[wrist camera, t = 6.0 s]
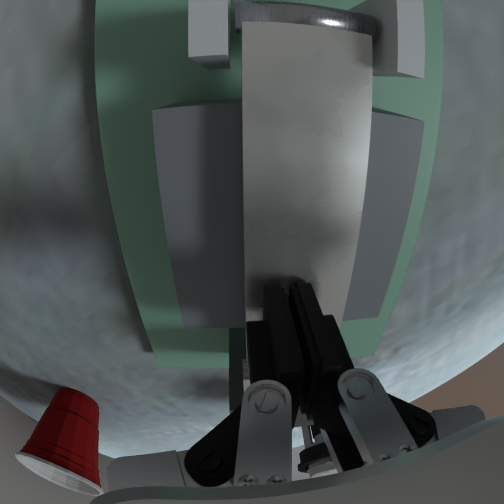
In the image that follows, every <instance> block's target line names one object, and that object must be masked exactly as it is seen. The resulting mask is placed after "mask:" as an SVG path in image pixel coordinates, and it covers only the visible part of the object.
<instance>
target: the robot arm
mask: <svg viewBox="0 0 504 504" xmlns="http://www.w3.org/2000/svg"><path fill="white" fill-rule="evenodd" d="M246 336H247V353H248V364H249V375H250V386H249V387H248V388H247V389H246V390H245V392H244V395H243V399H242V404H241V405H240V406H239V407H238V408H236V409H235V410H234V411H233V412H232V413H231V414H230V415H229V416H228V417H226V418H225V419H224V420H223V421H222V422H221V423H220V424H218V425H217V426H216V427H215V428H214V429H213V430H211V431H210V432H209V433H208V434H207V435H206V436H204V437H203V438H202V439H201V440H200V441H198V442H197V443H196V444H195V445H193V446H192V447H191V448H190V449H189V450H185V451H179V452H176V450H173V451H167V452H160V453H153V454H145V455H136V456H125V457H119V458H116V459H114V460H113V461H112V462H111V463H110V464H109V466H108V468H107V478H108V486H109V492H107V493H105V494H102V495H100V496H98V497H96V498H94V499H93V500H92V501H91V502H90V504H504V416H496V417H492V418H488V419H485V415H484V413H483V411H482V410H481V409H480V408H479V407H477V406H475V405H469V406H462V407H456V408H449V409H440V410H433V412H432V413H428V412H427V411H425V410H423V409H421V408H418V407H416V406H414V405H412V404H409V403H407V402H405V401H403V400H401V399H399V398H396V397H394V396H392V395H390V394H388V393H386V391H385V389H384V388H383V386H382V384H381V383H380V381H379V380H378V378H377V377H376V376H375V375H374V374H373V373H372V372H370V371H368V370H365V369H360V368H354V366H353V363H352V360H351V358H350V355H349V353H348V350H347V348H346V345H345V343H344V340H343V338H342V335H341V333H340V330H339V328H338V325H337V323H336V320H335V318H334V316H333V315H332V314H329V315H323V313H322V310H321V308H320V305H319V302H318V300H317V297H316V295H315V292H314V289H313V287H312V284H311V283H310V282H308V283H296V284H295V287H291V288H290V295H289V303H288V299H287V295H286V291H285V288H280V287H279V285H264V293H263V320H258V321H246ZM299 407H300V411H301V414H306V416H307V421H310V420H313V422H314V425H316V426H318V427H319V428H320V430H321V434H322V436H323V439H324V441H325V443H326V446H327V448H328V451H329V453H330V455H331V458H332V460H333V463H334V465H335V467H336V470H337V472H338V473H335V474H331V475H326V476H321V477H315V478H309V479H304V480H297V481H292V429H293V428H294V425H295V421H296V418H297V414H298V410H299Z"/></svg>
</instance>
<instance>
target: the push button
mask: <svg viewBox="0 0 504 504" xmlns="http://www.w3.org/2000/svg"><path fill="white" fill-rule="evenodd" d="M310 426H311V430H312V435H313V438H314V439H315V443H313V441H312V435H311V430H310ZM302 432H303V438H304V444H305V449H304V450H303V451H302V452H300V461H301V463H300V464H298V471H300V472H305V473H309V474H310V478H315V477H321V476H326V475H331V474H335V473H338V472H337V470H336V467H335V465H334V463H333V460H332V458H331V455H330V453H329V451H328V448H327V446H326V443H325V441H324V439H323V436H322V434H321V430H320V428H319V427H318V426H316V425H308V426H302Z"/></svg>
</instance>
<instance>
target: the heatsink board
mask: <svg viewBox="0 0 504 504" xmlns="http://www.w3.org/2000/svg"><path fill="white" fill-rule="evenodd" d="M264 1H283V2H295V3H305V4H313V5H320V6H327V7H333V8H339V9H344V10H349V11H354V12H359V13H363V14H368V15H372V16H374V17H375V18H376V19H377V22H378V27H379V31H378V37H377V40H376V42H375V44H374V45H373V46H372V55H373V81H372V114H371V131H370V145H369V157H368V168H367V177H366V186H365V195H364V203H363V210H362V217H361V224H360V231H359V237H358V243H357V249H356V255H355V260H354V266H353V271H352V276H351V281H350V286H349V291H348V296H347V300H346V305H345V309H344V314H343V318H342V322H341V326H340V333H341V335H342V338H343V340H344V343H345V345H346V348H347V350H348V353H349V355H350V358H357V357H364V356H370V355H374V353H375V351H376V349H377V346H378V344H379V342H380V340H381V337H382V335H383V333H384V330H385V328H386V325H387V323H388V320H389V318H390V315H391V313H392V310H393V308H394V305H395V302H396V300H397V297H398V294H399V291H400V289H401V286H402V283H403V280H404V277H405V274H406V271H407V268H408V265H409V262H410V258H411V255H412V252H413V249H414V245H415V242H416V238H417V235H418V231H419V227H420V223H421V219H422V215H423V211H424V207H425V203H426V199H427V194H428V189H429V185H430V180H431V175H432V169H433V164H434V158H435V152H436V145H437V138H438V131H439V123H440V113H441V103H442V89H443V67H444V35H443V14H442V2H441V0H264ZM94 55H95V83H96V99H97V111H98V121H99V130H100V139H101V146H102V154H103V160H104V167H105V173H106V179H107V185H108V190H109V196H110V201H111V206H112V211H113V215H114V220H115V225H116V229H117V233H118V238H119V242H120V246H121V250H122V254H123V258H124V261H125V265H126V269H127V272H128V276H129V279H130V283H131V286H132V290H133V293H134V296H135V300H136V303H137V306H138V309H139V312H140V315H141V318H142V321H143V324H144V327H145V330H146V333H147V336H148V339H149V341H150V344H151V347H152V350H153V352H154V355H155V358H156V360H157V363H158V365H159V367H163V368H229V404H230V414H231V413H232V412H233V411H234V410H235V409H236V408H238V407H239V406H240V405H241V404H242V399H243V395H244V385H243V363H242V359H246V325H245V282H244V232H243V170H242V73H241V34H235V0H96V6H95V33H94ZM308 425H314V422H313V420H310V421H307V416H306V414H301V411H300V407H299V410H298V414H297V418H296V421H295V425H294V427H300V426H308Z"/></svg>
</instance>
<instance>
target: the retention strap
mask: <svg viewBox="0 0 504 504" xmlns="http://www.w3.org/2000/svg"><path fill="white" fill-rule="evenodd" d="M378 31H379V27H378V22H377V19H376V18H375V17H374V16H372V15H368V14H363V13H359V12H354V11H349V10H344V9H339V8H333V7H327V6H320V5H313V4H305V3H295V2H283V1H264V0H235V34H241V73H242V170H243V232H244V282H245V325H246V321H258V320H263V293H264V285H279V287H280V288H285V291H286V295H287V299H288V303H289V295H290V288H291V287H295V284H296V283H308V282H310V283H311V284H312V287H313V289H314V292H315V295H316V297H317V300H318V302H319V305H320V308H321V310H322V313H323V315H329V314H332V315H333V316H334V318H335V320H336V323H337V325H338V328H339V330H340V326H341V322H342V318H343V314H344V309H345V305H346V300H347V296H348V291H349V286H350V281H351V276H352V271H353V266H354V260H355V255H356V249H357V243H358V237H359V231H360V224H361V217H362V210H363V203H364V195H365V186H366V177H367V168H368V157H369V145H370V131H371V114H372V81H373V55H372V46H373V45H374V44H375V42H376V40H377V37H378ZM242 363H243V385H244V392H245V390H246V389H247V388H248V387H249V386H250V375H249V364H248V353H247V336H246V359H242Z"/></svg>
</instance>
